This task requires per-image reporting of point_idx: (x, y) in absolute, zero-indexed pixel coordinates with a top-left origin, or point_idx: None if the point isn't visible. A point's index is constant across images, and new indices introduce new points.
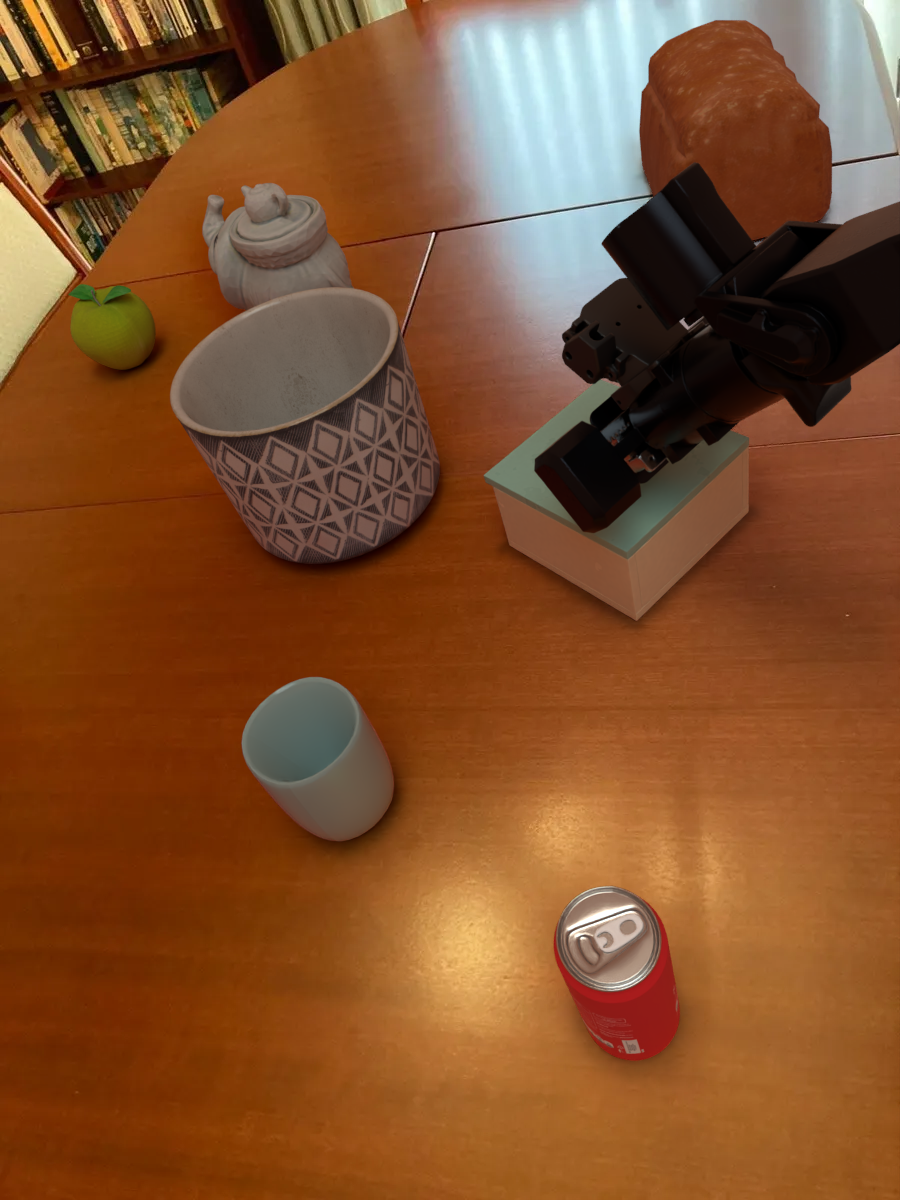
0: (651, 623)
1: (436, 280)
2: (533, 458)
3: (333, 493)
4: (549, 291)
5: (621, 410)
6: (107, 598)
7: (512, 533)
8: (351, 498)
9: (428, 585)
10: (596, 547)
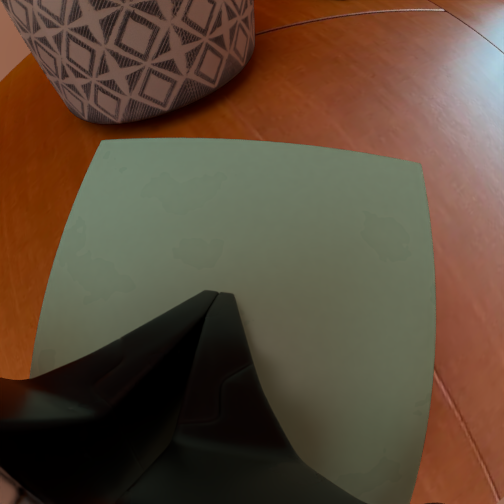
0: None
1: (419, 16)
2: (157, 179)
3: (39, 57)
4: (478, 79)
5: (1, 471)
6: None
7: None
8: (52, 69)
9: (78, 190)
10: None
